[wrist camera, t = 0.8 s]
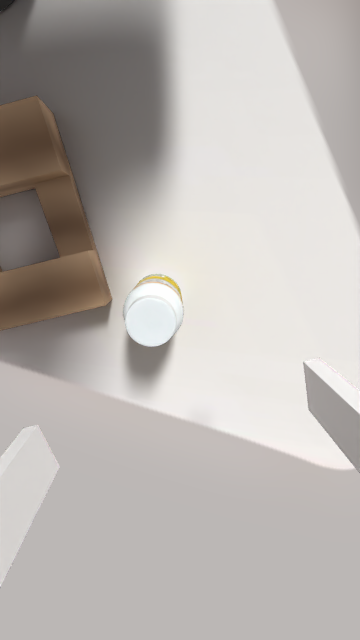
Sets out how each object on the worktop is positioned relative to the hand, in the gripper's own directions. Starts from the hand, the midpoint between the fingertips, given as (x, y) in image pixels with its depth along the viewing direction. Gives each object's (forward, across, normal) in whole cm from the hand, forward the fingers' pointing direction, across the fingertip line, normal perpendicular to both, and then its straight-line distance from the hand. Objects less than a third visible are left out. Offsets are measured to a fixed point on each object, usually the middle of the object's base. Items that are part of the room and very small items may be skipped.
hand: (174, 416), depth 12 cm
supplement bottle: (+18, -1, +2) cm, 18 cm away
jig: (+18, -13, +12) cm, 25 cm away
